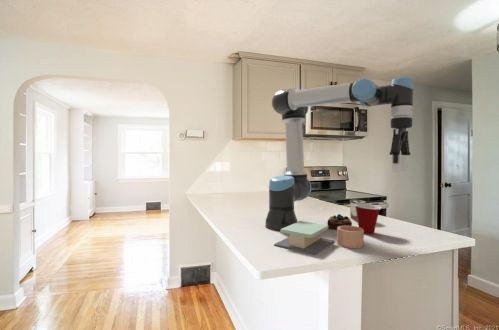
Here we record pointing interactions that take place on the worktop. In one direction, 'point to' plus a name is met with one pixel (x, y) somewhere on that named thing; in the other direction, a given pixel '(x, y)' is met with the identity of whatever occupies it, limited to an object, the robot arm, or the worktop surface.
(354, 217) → the food container
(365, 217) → the plastic cup
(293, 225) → the sheet
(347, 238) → the bowl
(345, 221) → the pastry
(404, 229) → the worktop surface
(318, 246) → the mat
